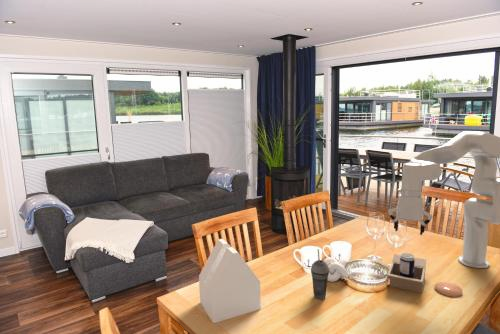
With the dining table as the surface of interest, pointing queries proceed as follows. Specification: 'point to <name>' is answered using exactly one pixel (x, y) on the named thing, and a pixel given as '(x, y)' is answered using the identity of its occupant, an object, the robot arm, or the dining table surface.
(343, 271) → the white decorative knot
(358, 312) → the dining table surface
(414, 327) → the dining table surface
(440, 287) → the coaster
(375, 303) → the dining table surface
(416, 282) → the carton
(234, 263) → the milk carton
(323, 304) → the dining table surface
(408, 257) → the beverage can
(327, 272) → the beverage cup
